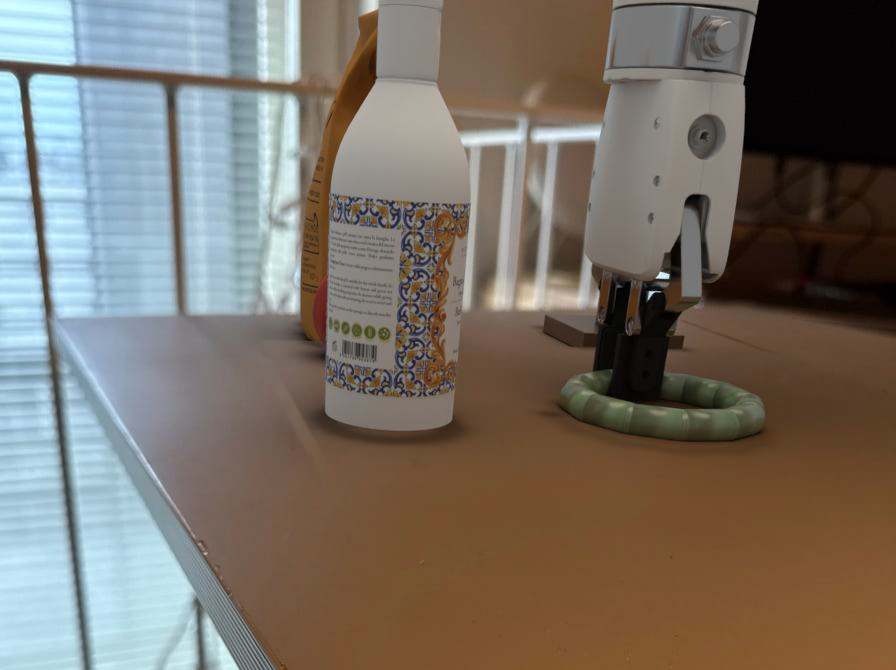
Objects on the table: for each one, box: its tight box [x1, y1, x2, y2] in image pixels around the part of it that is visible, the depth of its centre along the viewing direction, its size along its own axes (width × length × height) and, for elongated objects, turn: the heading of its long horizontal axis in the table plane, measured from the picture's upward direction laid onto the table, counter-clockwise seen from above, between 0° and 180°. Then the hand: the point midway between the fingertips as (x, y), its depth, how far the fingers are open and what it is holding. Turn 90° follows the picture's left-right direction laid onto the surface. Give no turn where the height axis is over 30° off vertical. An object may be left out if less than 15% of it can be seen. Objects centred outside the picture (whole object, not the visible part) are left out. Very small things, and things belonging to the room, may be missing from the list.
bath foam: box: [324, 0, 472, 432], centre depth 48 cm, size 7×7×20 cm
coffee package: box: [299, 8, 379, 342], centre depth 72 cm, size 10×12×22 cm
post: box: [542, 282, 686, 350], centre depth 80 cm, size 9×9×14 cm
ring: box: [558, 370, 766, 442], centre depth 56 cm, size 12×12×2 cm
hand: (624, 393), depth 60 cm, fingers closed on ring, 2 cm apart
